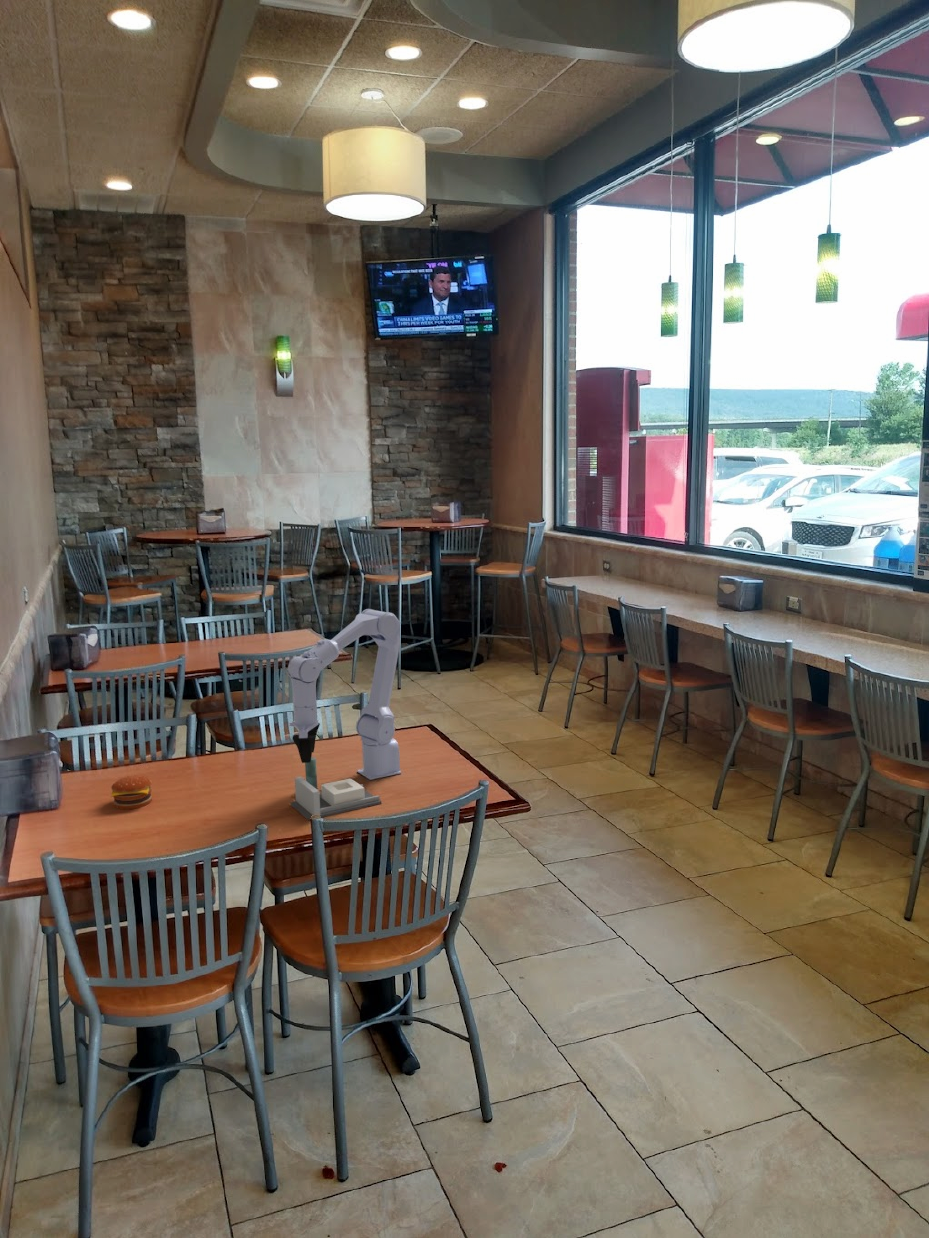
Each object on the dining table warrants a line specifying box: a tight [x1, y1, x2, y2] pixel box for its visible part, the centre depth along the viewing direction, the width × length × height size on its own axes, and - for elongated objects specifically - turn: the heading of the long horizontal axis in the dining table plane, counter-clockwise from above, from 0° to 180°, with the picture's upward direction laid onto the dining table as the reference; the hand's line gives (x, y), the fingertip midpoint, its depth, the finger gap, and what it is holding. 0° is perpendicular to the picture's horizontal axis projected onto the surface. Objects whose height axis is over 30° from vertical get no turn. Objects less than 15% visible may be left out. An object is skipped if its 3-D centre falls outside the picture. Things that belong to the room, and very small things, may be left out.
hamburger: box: [110, 774, 153, 810], centre depth 228 cm, size 9×10×7 cm
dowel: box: [304, 757, 318, 790], centre depth 235 cm, size 3×3×8 cm
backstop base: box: [289, 776, 382, 821], centre depth 225 cm, size 19×12×7 cm, turn 121°
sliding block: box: [320, 778, 365, 806], centre depth 226 cm, size 8×8×4 cm
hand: (307, 757), depth 230 cm, fingers open, 7 cm apart
